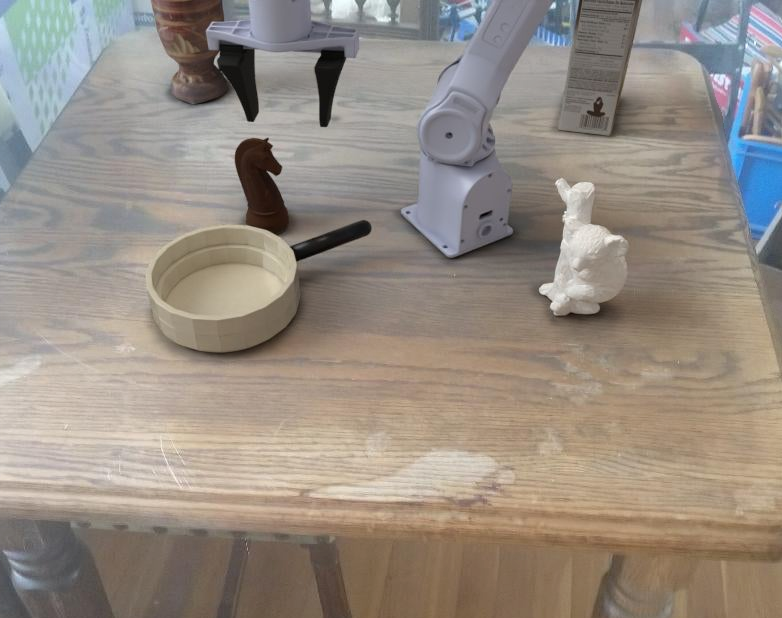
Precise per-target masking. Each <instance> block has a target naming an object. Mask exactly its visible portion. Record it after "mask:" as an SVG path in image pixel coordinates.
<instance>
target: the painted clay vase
mask: <svg viewBox="0 0 782 618" xmlns="http://www.w3.org/2000/svg"><path fill="white" fill-rule="evenodd" d="M150 4H151V9H152V12H153V18H154V22H155V27H156V31H157V34H158V36H159V40H160V42H161V44H162V47H163V49H164V52H165V54H167V56H168V57H169V58H171V59H172V60H173V61H175V62H176V63H177V64H178V68H179V69H178V71H177V72H176V73H175V74H174V75H173V76H172V78H171V84H170V86H171V88H170V89H171V91H170V92H171V93H172V95H173V97H175V98H176V99H178V100H180V101H184V102H186V103H189V104H192V105H197V104H200V103H204V102H207V101H211V100H214V99H217V98H220V97H221V96H223V95H225V94H226V92H227V91H228V90H229V81H228V79H227V78H226V77H225V75H224V74H223V73H222V72H221V71H220V70H219V67H218V66H217V65H215V59H216V58H217V56H218V55H219V53H220V50H209V48H208V41H207V35H206V30H207V28H208V27H209V26H210V24H211V23H212V22H225V13H224V12H225V11H224V6H223V0H150Z"/></svg>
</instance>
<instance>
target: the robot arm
mask: <svg viewBox="0 0 782 618" xmlns="http://www.w3.org/2000/svg"><path fill="white" fill-rule="evenodd" d="M247 2H248V3H247V4H248V11H249V18H248V19H240V20H231V21H230V20H229V21H224V22H212V23H211V24H210V26H209V27H208V28H207V30H206V35H207V41H208V48H209V50H220V52H219V53H218V55H219V57H218V58H217V59H216V64H217V68H219V70H220V71H221V72H222V74H223V75H224V77H225V78H226V80H227V82H228V83H229V84H230V85H231V87H232V89H233V90H234V92H235V94H236V96H237V98H238V100H239V102H240V104H241V107H242V110H243V113H244V115H245V118H246V121H247V122H248V123H254V122H255V121H256V118H257V117H258V115H259V114H260V101H259V95H258V94H259V93H258V88H257V81H256V57H255V55H256V50H260V51H263V52H269V53H288V52H296V53H314V54H320V56H319V57H318V59H317V61H316V63H315V65H314V67H313V70H314V75H315V80H316V86H317V93H318V121H319V128H327V127H329V124H330V121H331V118H332V110H333V103H334V99H335V94H336V90H337V86H338V82H339V80H340V77H341V74H342V72H343V69H344V66H345V63H346V61H347V59H356V57H357V55H358V53H359V50H360V29H359V28H350V27H344V26H338V25H334V24H330V23H325V22H321V21H316V20H313V19H312V10H311V9H312V7H311V0H247ZM554 2H555V0H492V1H491V2H490V4H489V6H488V8H487V10H486V12H485V13H484V15H483V17H482V18H481V20H480V23H479V24H478V27H477V28H476V30H475V31H474V34H473V35H472V37H471V38H470V39H469V41H468V43H467V45H466V46H465V49H464V50H463V52H462V53H461V54H460V55H459V56H458V57H457V58H456V59H454V60H452V61H451V62H449V63H448V64H447V65H446V66H445V67H444V68H443V69H442V70H441V72H440V74H439V76H438V78H437V83H436V86H435V87H434V88H435V89H434V90H433V92H432V95H431V97H430V99H429V101H428V104H427V105H426V107H425V109H424V110H423V112H422V113H421V114H420V116H419V118H418V121H417V124H416V137H417V141H418V143H419V146H420V147H419V167H418V170H419V171H418V192H417V202H416V203H413V204H411V205H407V206H405V207H402V208H401V209H400V214H401V216H403V217H404V218H405V219H406V220H407V222H409V223H411V225H412V226H413V227H414V228H416V229H417V230H418V231H419V232H420V233H421V234H422V235H423V236H424V237H425V238H426V239H428V241H430V243H432V244H433V245H434V246H435V247H436V248H437V249H438V251H439V250H440V252H442V253H443V254H444V255H445V256H446V257H447V258H449V259H453V258H456V257H458V256H462V255H464V254H466V253H468V252H471V251H474V250H476V249H479V248H481V247H483V246H487V245H488V244H491V243H494V242H496V241H500V240H501V239H504V238H506V237H509V236H511V235H513V232H514V229H513V228H512V227H511V226H510V225H508V223H509V217H510V216H509V215H510V208H511V200H512V195H513V194H512V193H513V180H512V178H511V176H510V174H509V173H508V172H507V171H506V170H505V169H504V168H503V165H501V163H500V161H499V159H498V156H497V154H496V153H497V152H496V135H495V133H494V130H493V128H492V124H491V120H492V117H493V114H494V111H495V109H496V107H497V105H498V103H499V101H500V99H501V95H502V91H503V89H504V87H505V86H506V83H507V81H508V79H509V77H510V75H511V74H512V73H513V70H514V68H515V67H516V65H517V64H518V62H519V60H520V58H521V57H522V55H523V54H524V52H525V50H526V49H527V47H528V46H529V43H530V42H531V40H532V39H533V37H534V35H535V33H537V30H538V29H539V27H540V25H541V24H542V22H543V21H544V18H545V17H546V15H547V13H548V12H549V10H550V9H551V7H552V5H553V4H554Z"/></svg>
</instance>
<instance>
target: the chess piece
mask: <svg viewBox="0 0 782 618" xmlns="http://www.w3.org/2000/svg"><path fill="white" fill-rule="evenodd" d="M269 139H270V138H269V137H265V138H264V139H262V138H260V137H259V138H258V137H251V138H247V139H244V140H242V141H241V142H240V143H239V144H238V145H237V147H236V149H235V152H234V166H235V170H236V173H237V176H238V179H239V182H240V185H241V188H242V191H243V194H244V197H245V199H246V203H247V210H246V213H245V225H248V226H252V227H256V228H260V229H264V230H267V231H269V232H271V233H273V234H275V235H277V236H278V235H279V234H281V233H283V232H284V231H286V229H287V228H288V226H289V225H290V216H289V211H288V208H287V207H286V205H285V200H284V198H283V196H282V192H281V191H280V189H279V187H278V185H277V184H276V182H275V181H274V179H273V177H272V176H271V174H272V175H273V176H275V177H278V176H279V175H281V173H282V170H283V165H282V164H281V163H280V162H279V161H278V160H277V158H276V157H275V156H274V154H273V151H272V149H273V147H274V145H273V144H271V143H270V142H269Z"/></svg>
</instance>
